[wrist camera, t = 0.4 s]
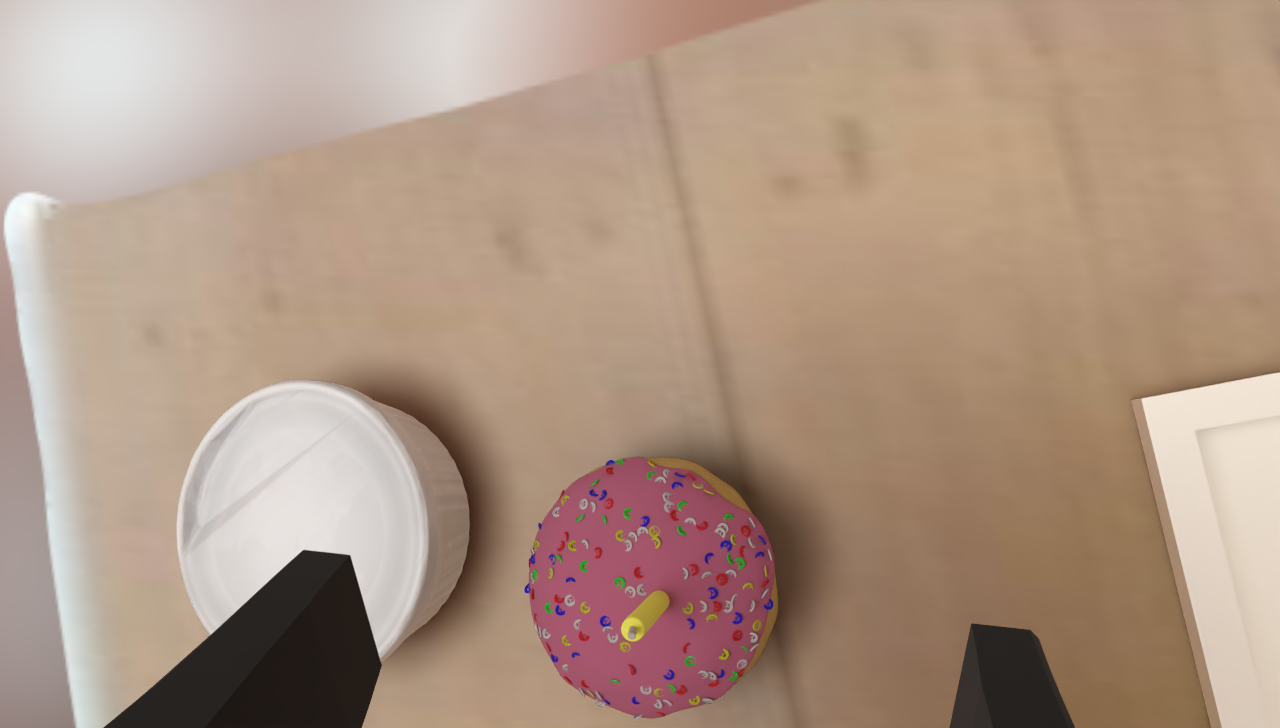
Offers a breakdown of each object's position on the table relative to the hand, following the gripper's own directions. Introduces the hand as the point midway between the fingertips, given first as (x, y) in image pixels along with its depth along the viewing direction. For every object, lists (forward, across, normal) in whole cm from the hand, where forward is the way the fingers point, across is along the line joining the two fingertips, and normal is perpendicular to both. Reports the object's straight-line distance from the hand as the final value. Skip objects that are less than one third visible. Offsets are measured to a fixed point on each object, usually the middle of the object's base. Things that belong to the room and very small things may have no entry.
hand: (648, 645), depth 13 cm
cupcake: (+20, +3, +20) cm, 28 cm away
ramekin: (+22, +16, +21) cm, 34 cm away
